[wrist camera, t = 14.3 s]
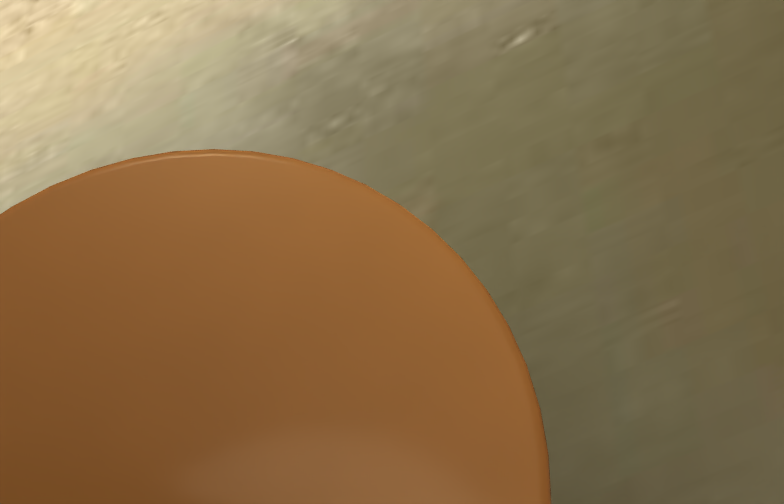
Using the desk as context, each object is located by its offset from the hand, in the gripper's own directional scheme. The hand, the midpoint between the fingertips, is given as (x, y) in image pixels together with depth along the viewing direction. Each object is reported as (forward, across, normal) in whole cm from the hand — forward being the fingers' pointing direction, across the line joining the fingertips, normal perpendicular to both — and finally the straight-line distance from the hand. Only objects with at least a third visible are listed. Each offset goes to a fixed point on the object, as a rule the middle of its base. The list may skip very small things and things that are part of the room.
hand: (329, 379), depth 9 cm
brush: (+4, +1, +8) cm, 9 cm away
